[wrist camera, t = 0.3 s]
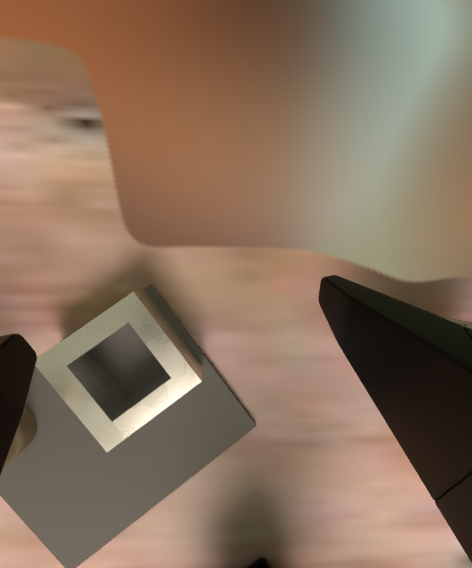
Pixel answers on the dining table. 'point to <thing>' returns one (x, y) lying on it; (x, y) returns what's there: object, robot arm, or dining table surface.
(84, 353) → the square socket block
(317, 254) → the dining table surface
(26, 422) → the pin
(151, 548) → the dining table surface
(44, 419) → the mat
